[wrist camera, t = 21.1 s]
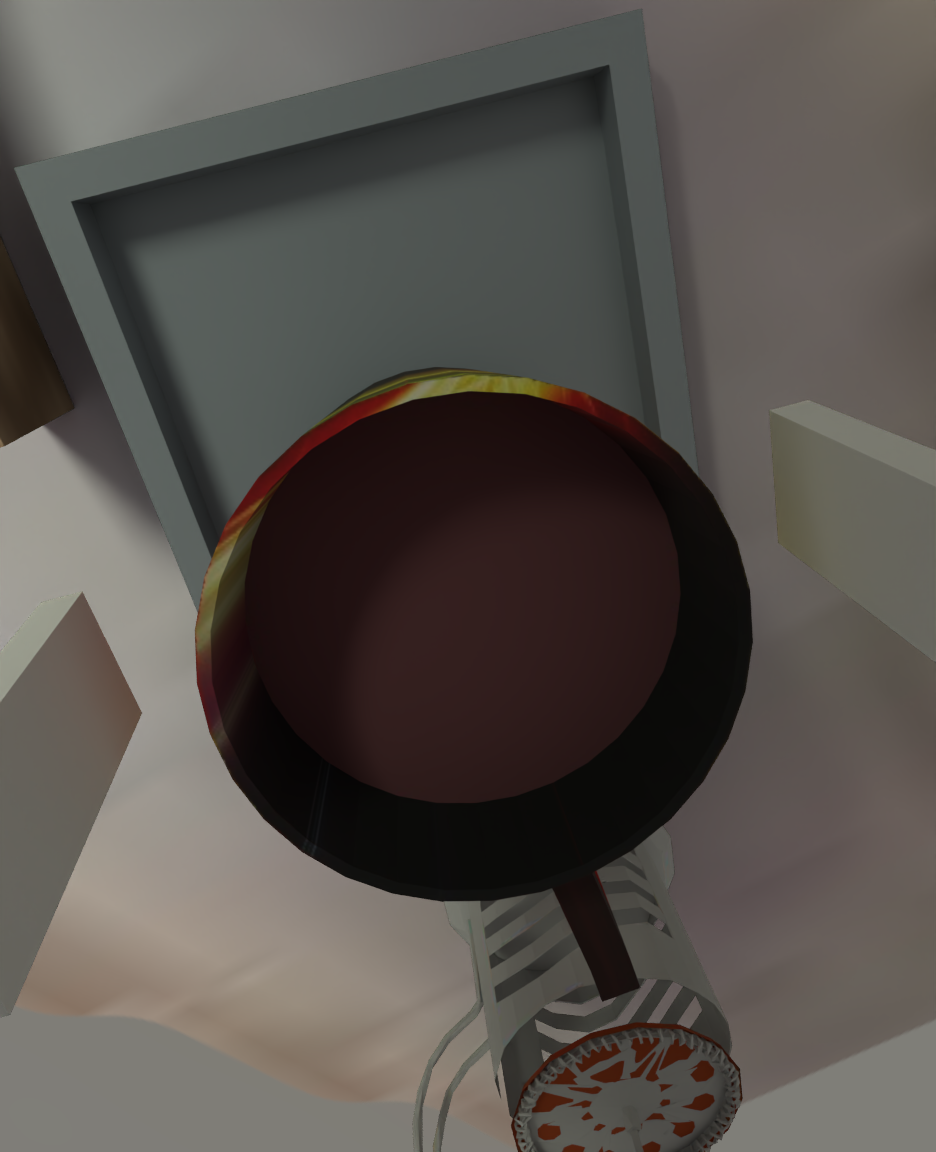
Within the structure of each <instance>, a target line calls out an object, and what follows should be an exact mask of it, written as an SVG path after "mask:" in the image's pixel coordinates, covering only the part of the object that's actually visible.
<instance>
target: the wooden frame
mask: <svg viewBox="0 0 936 1152" xmlns="http://www.w3.org/2000/svg"><path fill="white" fill-rule="evenodd" d="M72 409H74V406H73V403H72V401H71V399H70V396H69V394H68V392H67V389H66V387H65V385H64V383H63V380H62V378H61V376H60V373H59V371H58V369H57V366H56V364H55V362H54V359H53V357H52V355H51V353H50V350H49V348H48V346H47V343H46V341H45V339H44V336H43V334H42V332H41V329H40V327H39V325H38V323H37V320H36V318H35V316H34V313H33V311H32V309H31V306H30V304H29V302H28V299H27V297H26V295H25V293H24V290H23V288H22V286H21V283H20V281H19V279H18V276H17V274H16V272H15V269H14V267H13V265H12V263H11V260H10V258H9V256H8V253H7V251H6V249H5V246H4V244H3V242H2V239H1V237H0V447H3V446H6V445H8V444H9V443H11V442H13V441H15V440H17V439H19V438H20V437H22V436H24V435H26V434H28V433H30V432H31V431H33V430H35V429H37V428H39V427H41V426H43V425H44V424H46V423H48V422H50V421H52V420H54V419H55V418H57V417H59V416H61V415H63V414H65V413H66V412H68V411H70V410H72Z"/></svg>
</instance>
